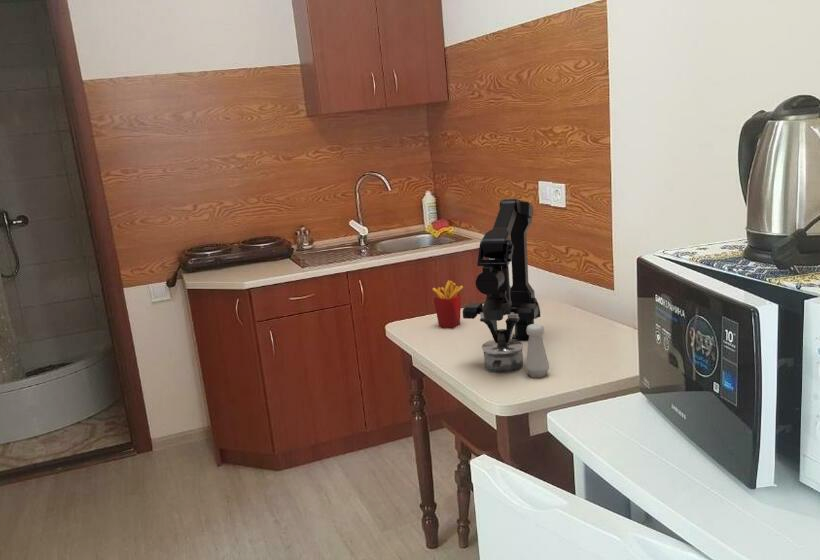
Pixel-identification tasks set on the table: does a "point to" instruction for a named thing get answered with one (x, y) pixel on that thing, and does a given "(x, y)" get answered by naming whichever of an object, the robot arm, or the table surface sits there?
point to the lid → (502, 345)
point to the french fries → (448, 305)
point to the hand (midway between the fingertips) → (502, 342)
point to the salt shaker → (536, 352)
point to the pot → (503, 362)
